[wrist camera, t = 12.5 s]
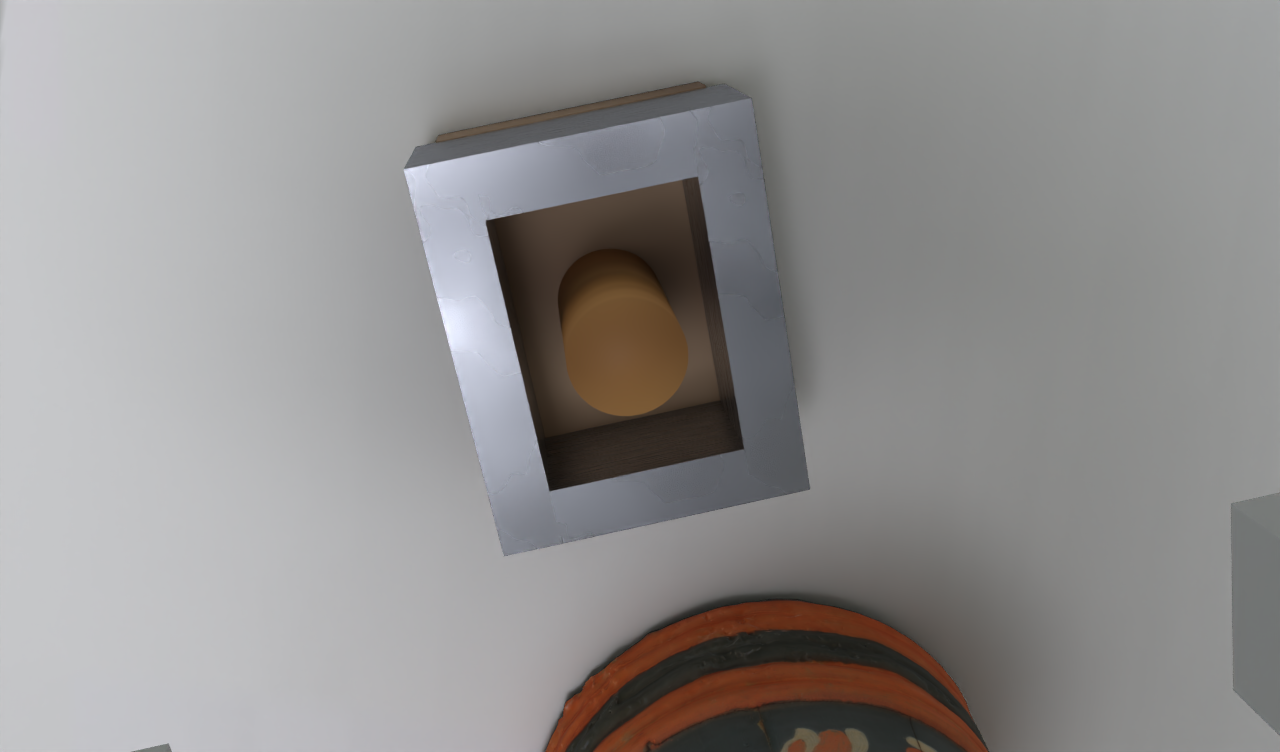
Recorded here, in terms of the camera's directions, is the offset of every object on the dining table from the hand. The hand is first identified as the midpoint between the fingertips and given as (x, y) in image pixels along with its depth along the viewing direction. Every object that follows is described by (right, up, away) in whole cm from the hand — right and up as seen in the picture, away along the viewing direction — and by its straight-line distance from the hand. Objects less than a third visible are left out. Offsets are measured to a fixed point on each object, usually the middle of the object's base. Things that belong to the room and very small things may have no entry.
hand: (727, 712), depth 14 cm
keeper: (-2, +7, +18) cm, 19 cm away
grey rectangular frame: (-2, +6, +17) cm, 18 cm away
